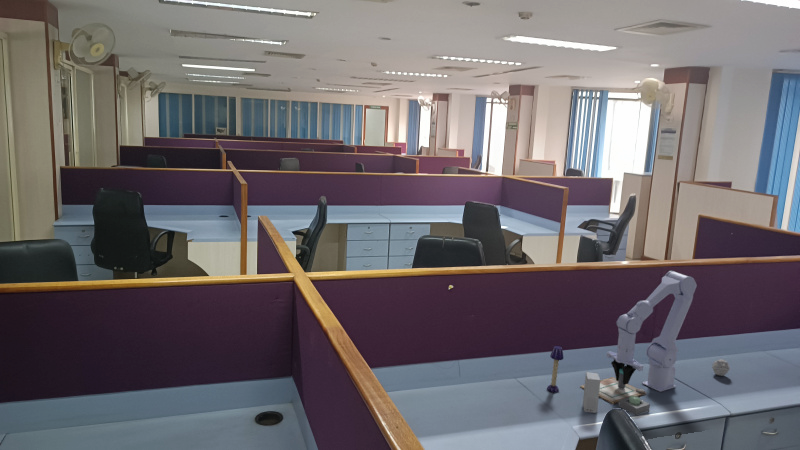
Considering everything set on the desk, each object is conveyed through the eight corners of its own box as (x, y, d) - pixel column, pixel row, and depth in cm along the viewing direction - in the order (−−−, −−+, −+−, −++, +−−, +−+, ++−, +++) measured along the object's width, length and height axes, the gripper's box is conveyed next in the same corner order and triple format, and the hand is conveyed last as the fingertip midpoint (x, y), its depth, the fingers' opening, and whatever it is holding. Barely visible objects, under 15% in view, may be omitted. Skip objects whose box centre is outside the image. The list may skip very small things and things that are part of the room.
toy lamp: (554, 386, 213) (558, 344, 210) (563, 391, 209) (567, 348, 206) (544, 388, 211) (548, 345, 208) (552, 394, 207) (556, 350, 204)
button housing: (631, 402, 202) (632, 395, 202) (649, 410, 196) (649, 404, 196) (618, 406, 199) (619, 399, 198) (635, 415, 193) (636, 408, 192)
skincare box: (597, 413, 193) (600, 380, 191) (584, 412, 194) (587, 378, 192) (595, 405, 199) (598, 373, 197) (582, 403, 200) (585, 371, 198)
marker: (621, 384, 214) (622, 367, 212) (626, 387, 211) (628, 370, 210) (616, 386, 212) (617, 368, 211) (621, 389, 210) (623, 371, 209)
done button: (633, 402, 200) (634, 394, 199) (641, 407, 197) (642, 399, 196) (626, 404, 198) (627, 396, 197) (635, 409, 195) (635, 401, 195)
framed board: (613, 377, 222) (613, 375, 222) (646, 393, 209) (647, 391, 209) (580, 387, 213) (580, 384, 213) (613, 404, 200) (613, 401, 200)
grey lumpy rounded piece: (714, 378, 225) (716, 361, 224) (708, 371, 232) (710, 354, 231) (730, 380, 224) (733, 363, 223) (725, 373, 231) (727, 356, 230)
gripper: (602, 342, 213) (599, 376, 216) (635, 356, 201) (631, 392, 203) (615, 339, 217) (611, 372, 219) (648, 352, 205) (644, 388, 207)
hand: (622, 381), depth 211 cm, fingers closed on marker, 3 cm apart
